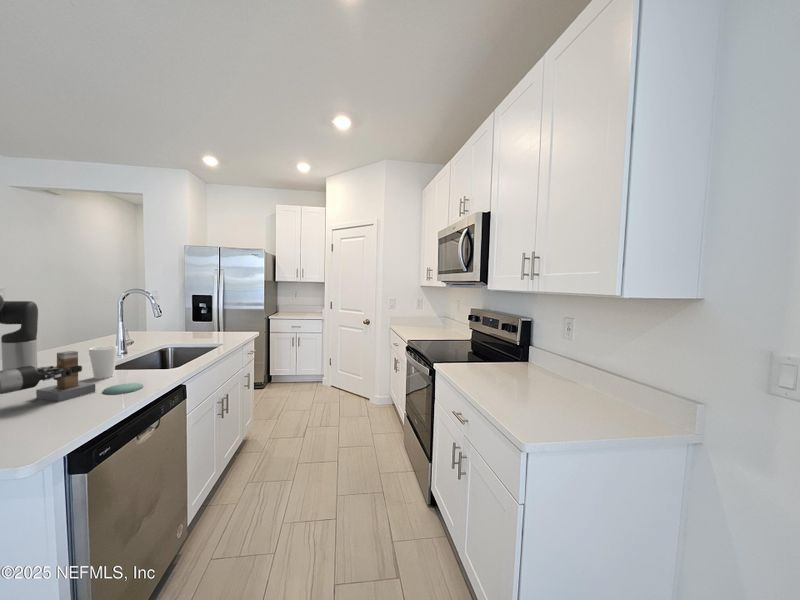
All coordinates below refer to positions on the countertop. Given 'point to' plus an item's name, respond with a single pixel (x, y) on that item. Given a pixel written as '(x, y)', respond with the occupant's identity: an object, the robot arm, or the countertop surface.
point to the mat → (123, 388)
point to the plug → (65, 361)
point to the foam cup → (103, 360)
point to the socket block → (64, 392)
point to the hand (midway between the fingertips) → (76, 367)
